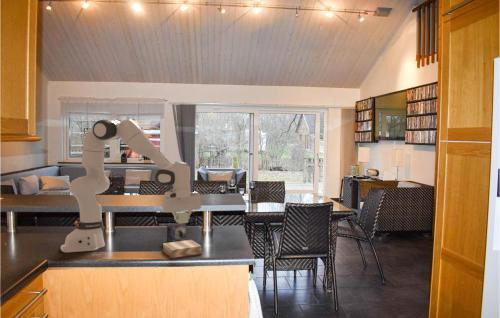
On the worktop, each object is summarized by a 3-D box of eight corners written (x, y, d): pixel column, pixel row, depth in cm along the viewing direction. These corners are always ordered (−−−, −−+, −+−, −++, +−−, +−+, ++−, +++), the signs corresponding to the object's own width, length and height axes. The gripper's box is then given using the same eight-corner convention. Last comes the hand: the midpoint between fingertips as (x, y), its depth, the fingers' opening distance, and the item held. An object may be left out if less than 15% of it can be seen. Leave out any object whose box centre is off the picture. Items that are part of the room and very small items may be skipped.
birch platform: (171, 257, 212) (171, 250, 212) (163, 250, 224) (163, 243, 224) (201, 253, 220) (201, 246, 220) (191, 246, 232) (191, 239, 232)
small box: (167, 244, 237) (167, 225, 236) (166, 241, 243) (166, 223, 242) (186, 243, 240) (186, 224, 239) (185, 240, 246) (185, 222, 245)
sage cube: (179, 223, 218) (179, 214, 217) (175, 221, 222) (175, 212, 221) (188, 222, 220) (188, 213, 220) (184, 220, 224) (184, 211, 224)
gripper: (198, 190, 228) (198, 216, 229) (161, 193, 218) (161, 219, 219) (202, 192, 222) (202, 218, 223) (165, 195, 212) (165, 222, 213)
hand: (182, 219), depth 221 cm, fingers closed on sage cube, 5 cm apart
